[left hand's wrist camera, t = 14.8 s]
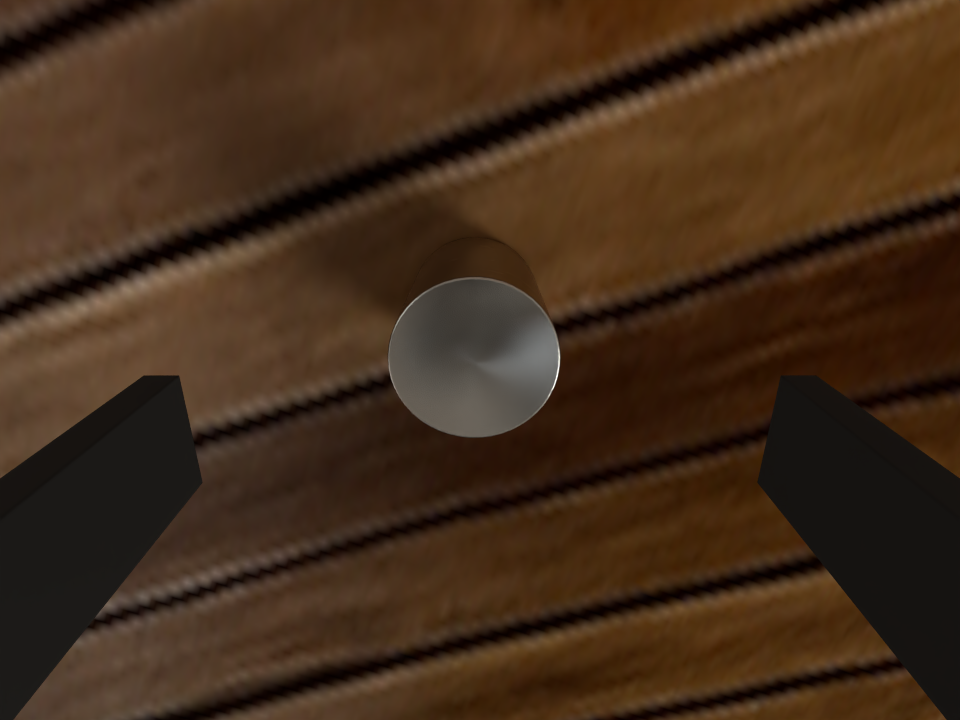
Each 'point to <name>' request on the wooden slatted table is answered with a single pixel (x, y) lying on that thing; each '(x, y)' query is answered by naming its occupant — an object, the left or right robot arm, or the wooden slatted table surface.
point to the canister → (474, 341)
